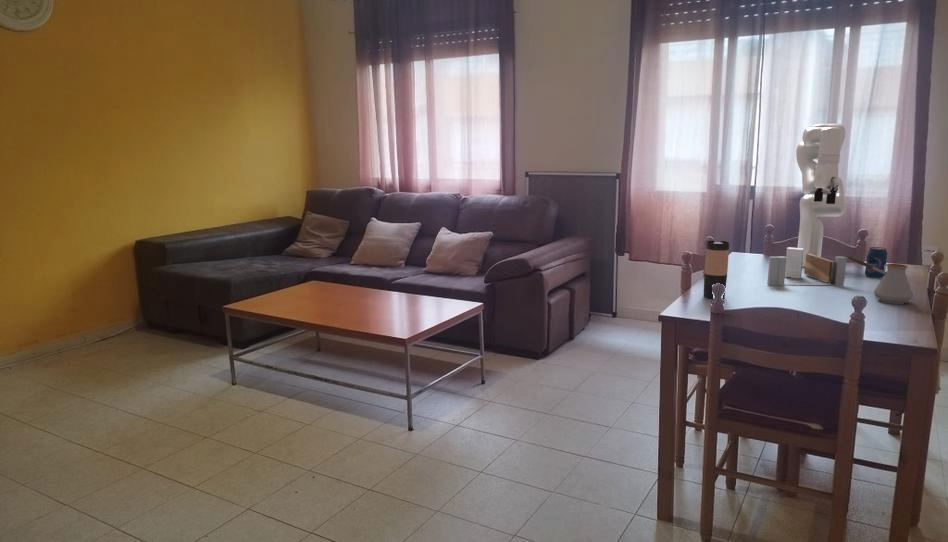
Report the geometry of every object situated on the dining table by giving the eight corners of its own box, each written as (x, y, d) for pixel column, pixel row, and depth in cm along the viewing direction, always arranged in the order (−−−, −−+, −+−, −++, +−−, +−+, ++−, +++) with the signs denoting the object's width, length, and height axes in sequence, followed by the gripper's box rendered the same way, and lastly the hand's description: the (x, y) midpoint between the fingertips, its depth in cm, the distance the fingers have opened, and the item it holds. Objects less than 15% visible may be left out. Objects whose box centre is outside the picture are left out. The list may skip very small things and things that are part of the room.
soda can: (861, 276, 265) (865, 248, 262) (868, 274, 269) (871, 246, 267) (880, 279, 259) (884, 250, 257) (886, 277, 264) (890, 248, 262)
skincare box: (801, 277, 265) (804, 248, 262) (800, 278, 261) (803, 249, 259) (785, 275, 268) (787, 247, 265) (783, 277, 264) (786, 248, 262)
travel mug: (714, 300, 227) (718, 244, 223) (698, 296, 233) (701, 241, 229) (730, 298, 230) (734, 242, 226) (713, 293, 237) (717, 239, 233)
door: (807, 273, 268) (810, 253, 266) (834, 284, 249) (837, 262, 248) (804, 274, 268) (806, 253, 266) (830, 284, 249) (833, 262, 248)
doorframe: (766, 284, 252) (768, 256, 250) (839, 284, 252) (842, 256, 249) (769, 285, 249) (772, 257, 247) (843, 285, 249) (847, 257, 246)
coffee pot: (907, 299, 228) (913, 257, 225) (915, 307, 217) (921, 263, 214) (839, 294, 236) (843, 253, 233) (843, 301, 225) (848, 259, 222)
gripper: (808, 158, 265) (804, 200, 268) (830, 160, 248) (825, 204, 251) (827, 158, 265) (822, 200, 268) (850, 160, 248) (845, 204, 251)
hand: (824, 202), depth 260 cm, fingers open, 9 cm apart
